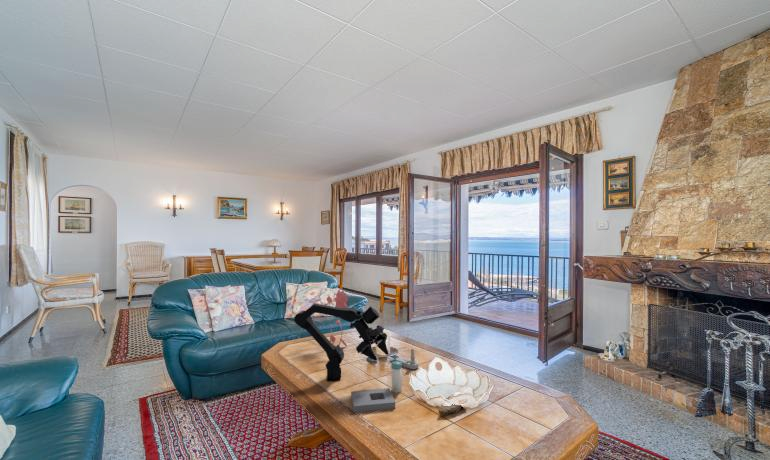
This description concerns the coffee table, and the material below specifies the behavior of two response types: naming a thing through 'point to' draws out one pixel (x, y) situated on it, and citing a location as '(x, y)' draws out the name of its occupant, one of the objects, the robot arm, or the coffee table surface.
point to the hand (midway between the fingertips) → (382, 357)
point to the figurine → (340, 302)
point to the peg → (396, 377)
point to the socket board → (364, 402)
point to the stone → (448, 409)
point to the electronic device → (408, 361)
